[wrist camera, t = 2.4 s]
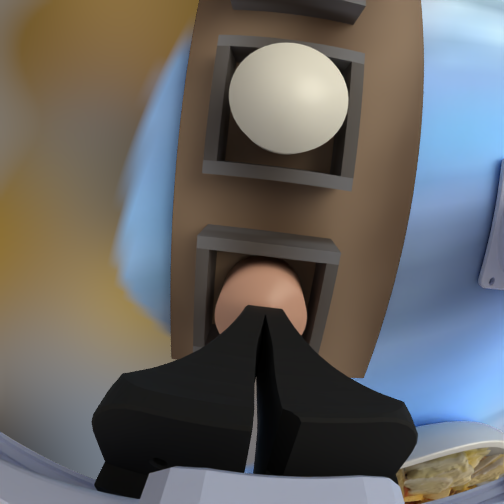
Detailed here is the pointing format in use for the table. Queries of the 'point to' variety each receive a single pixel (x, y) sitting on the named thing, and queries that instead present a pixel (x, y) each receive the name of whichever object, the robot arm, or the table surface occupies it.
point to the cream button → (288, 98)
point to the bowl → (451, 460)
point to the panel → (300, 172)
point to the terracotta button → (261, 291)
